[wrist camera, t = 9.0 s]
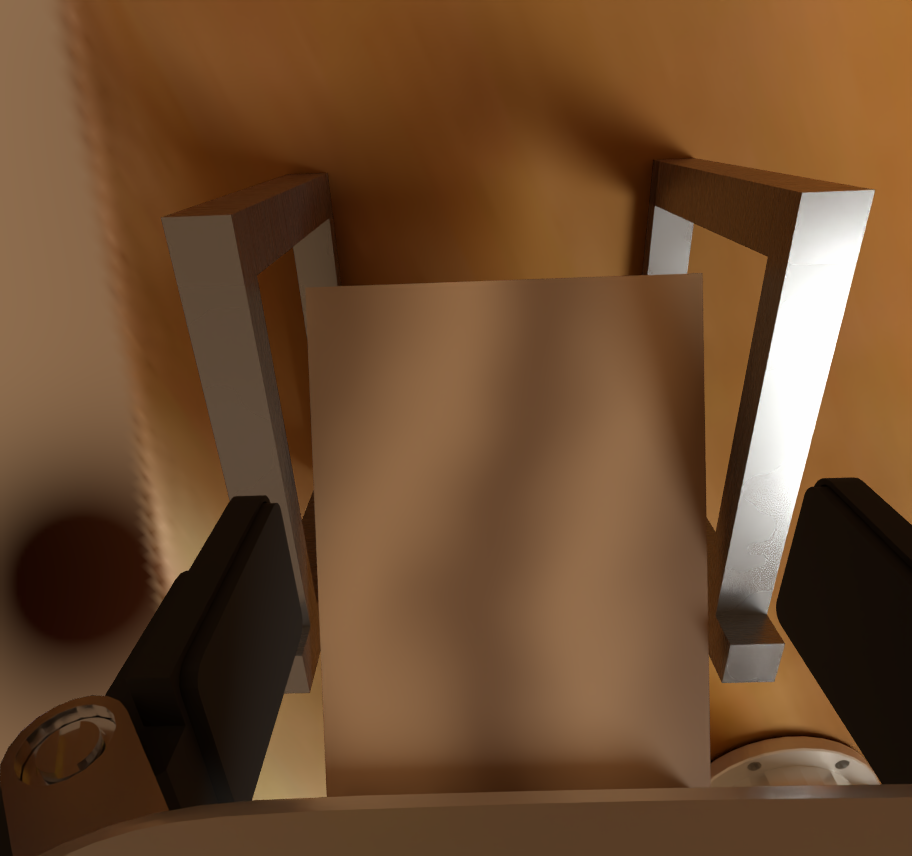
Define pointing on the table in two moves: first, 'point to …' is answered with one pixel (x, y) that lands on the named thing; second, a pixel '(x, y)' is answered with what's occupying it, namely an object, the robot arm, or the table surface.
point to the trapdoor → (511, 534)
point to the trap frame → (666, 252)
